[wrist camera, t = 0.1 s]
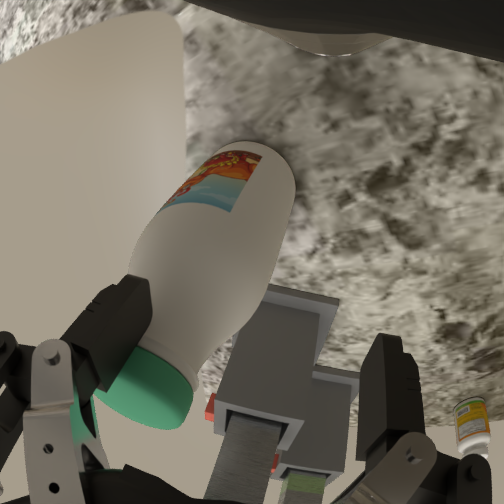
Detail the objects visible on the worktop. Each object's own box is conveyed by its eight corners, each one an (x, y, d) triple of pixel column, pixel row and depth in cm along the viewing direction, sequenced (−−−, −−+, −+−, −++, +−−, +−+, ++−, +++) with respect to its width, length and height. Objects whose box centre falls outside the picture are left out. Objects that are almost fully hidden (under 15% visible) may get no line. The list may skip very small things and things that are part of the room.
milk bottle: (307, 153, 24) (235, 403, 8) (284, 233, 29) (212, 461, 13) (212, 129, 24) (21, 308, 9) (201, 209, 29) (73, 401, 14)
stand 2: (289, 359, 38) (267, 455, 27) (366, 374, 36) (362, 469, 26) (276, 398, 44) (256, 478, 33) (342, 410, 42) (332, 490, 32)
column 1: (263, 313, 33) (193, 525, 15) (302, 322, 32) (252, 540, 15) (258, 338, 35) (196, 529, 18) (294, 346, 35) (247, 542, 17)
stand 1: (240, 277, 32) (194, 383, 22) (338, 299, 31) (329, 415, 21) (234, 340, 38) (199, 434, 28) (315, 359, 37) (299, 458, 26)
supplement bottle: (478, 411, 37) (484, 463, 29) (449, 416, 39) (453, 469, 31) (488, 394, 35) (498, 449, 27) (458, 398, 36) (465, 456, 28)
